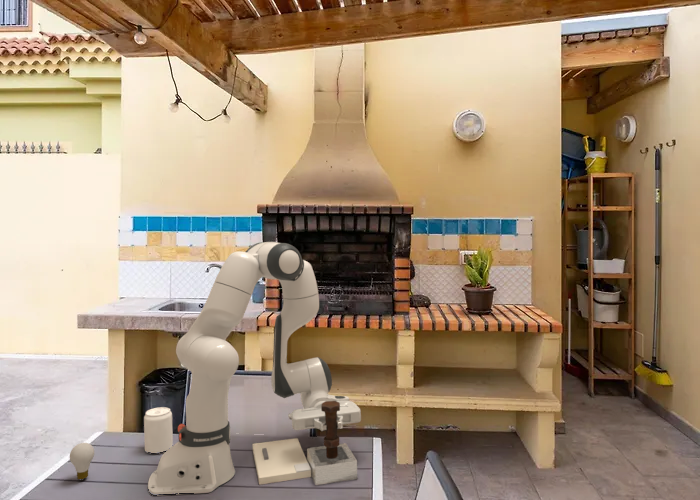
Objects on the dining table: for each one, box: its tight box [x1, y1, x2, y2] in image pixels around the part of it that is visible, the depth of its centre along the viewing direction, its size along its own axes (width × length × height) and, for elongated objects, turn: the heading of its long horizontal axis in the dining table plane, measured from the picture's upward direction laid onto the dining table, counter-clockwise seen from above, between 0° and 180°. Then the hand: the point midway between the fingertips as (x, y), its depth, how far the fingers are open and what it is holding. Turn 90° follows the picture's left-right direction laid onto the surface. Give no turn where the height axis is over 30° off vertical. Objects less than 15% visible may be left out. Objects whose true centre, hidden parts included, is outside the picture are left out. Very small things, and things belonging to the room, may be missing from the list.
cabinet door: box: [252, 437, 312, 486], centre depth 140 cm, size 14×22×3 cm, turn 16°
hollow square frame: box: [306, 442, 358, 486], centre depth 133 cm, size 12×12×5 cm
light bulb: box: [69, 442, 95, 480], centre depth 131 cm, size 6×6×10 cm
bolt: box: [321, 401, 341, 459], centre depth 133 cm, size 6×5×15 cm
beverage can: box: [143, 406, 174, 454], centre depth 149 cm, size 8×8×12 cm
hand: (332, 427), depth 132 cm, fingers closed on bolt, 3 cm apart
